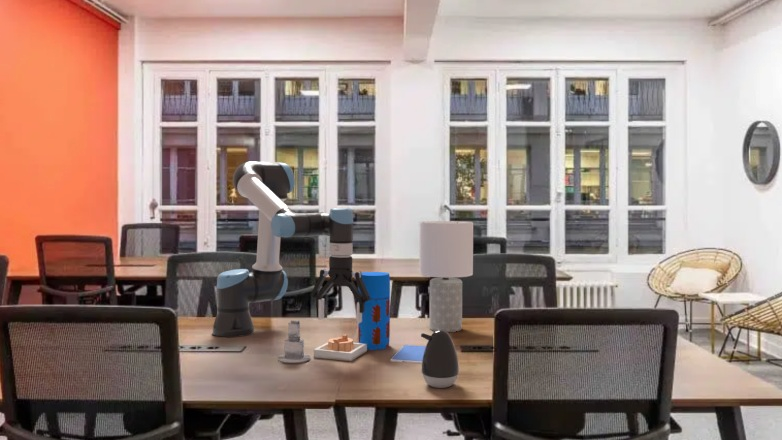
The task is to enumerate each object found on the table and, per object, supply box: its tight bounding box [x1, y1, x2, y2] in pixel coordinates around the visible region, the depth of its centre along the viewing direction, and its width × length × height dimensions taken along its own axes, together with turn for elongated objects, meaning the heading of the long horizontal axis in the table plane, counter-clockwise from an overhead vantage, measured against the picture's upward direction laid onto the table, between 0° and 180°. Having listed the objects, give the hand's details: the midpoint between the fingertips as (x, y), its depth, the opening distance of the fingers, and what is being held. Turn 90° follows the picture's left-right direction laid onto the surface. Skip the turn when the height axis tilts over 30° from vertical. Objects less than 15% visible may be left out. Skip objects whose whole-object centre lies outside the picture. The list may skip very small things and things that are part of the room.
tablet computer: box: [389, 344, 426, 365], centre depth 198 cm, size 19×13×1 cm, turn 165°
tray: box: [313, 342, 368, 362], centre depth 198 cm, size 13×13×2 cm
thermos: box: [357, 271, 391, 351], centre depth 209 cm, size 11×11×25 cm
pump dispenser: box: [420, 330, 460, 389], centre depth 166 cm, size 10×10×15 cm
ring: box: [327, 334, 354, 352], centre depth 198 cm, size 8×8×5 cm
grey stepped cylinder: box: [277, 319, 311, 365], centre depth 192 cm, size 10×10×12 cm
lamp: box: [418, 220, 474, 333], centre depth 236 cm, size 21×21×42 cm
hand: (340, 320), depth 198 cm, fingers open, 13 cm apart
